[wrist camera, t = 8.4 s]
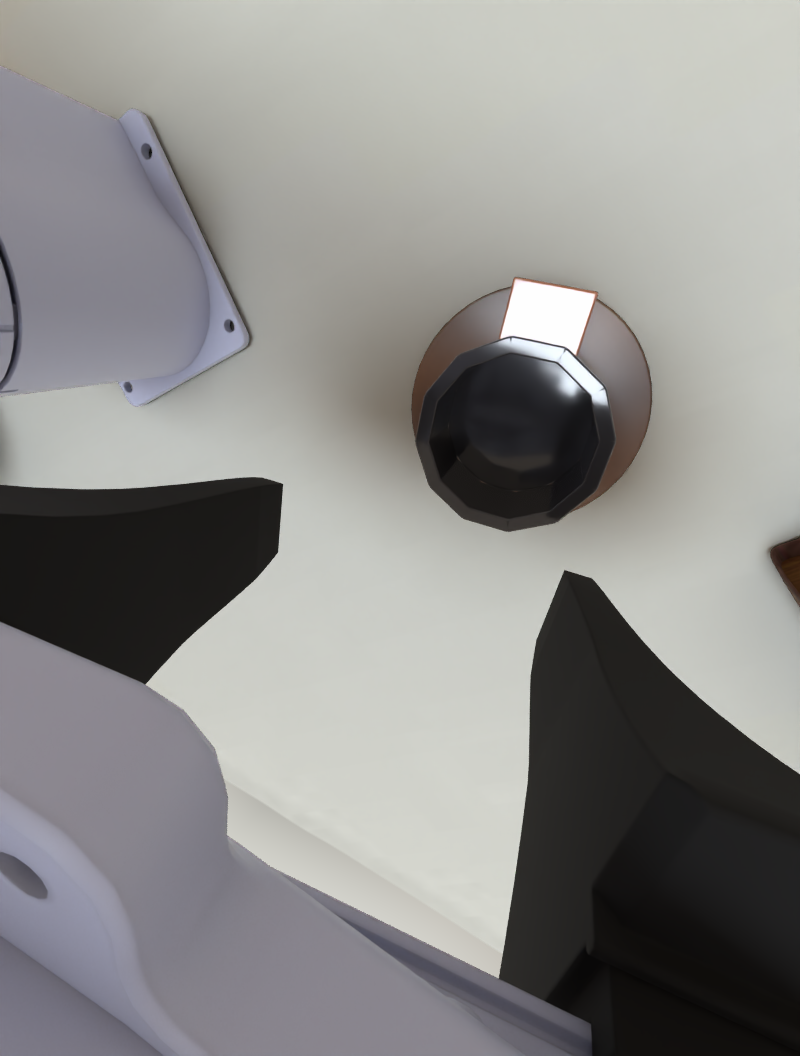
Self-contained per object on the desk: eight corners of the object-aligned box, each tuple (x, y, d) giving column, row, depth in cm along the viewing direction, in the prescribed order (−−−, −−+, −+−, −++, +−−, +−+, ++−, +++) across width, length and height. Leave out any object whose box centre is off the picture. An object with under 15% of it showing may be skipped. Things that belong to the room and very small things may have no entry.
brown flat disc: (382, 346, 19) (377, 347, 19) (612, 235, 16) (614, 231, 15) (458, 538, 22) (455, 543, 21) (675, 480, 18) (678, 485, 17)
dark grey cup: (437, 463, 20) (402, 501, 16) (479, 279, 17) (449, 263, 12) (570, 499, 19) (572, 552, 14) (641, 310, 16) (671, 304, 11)
